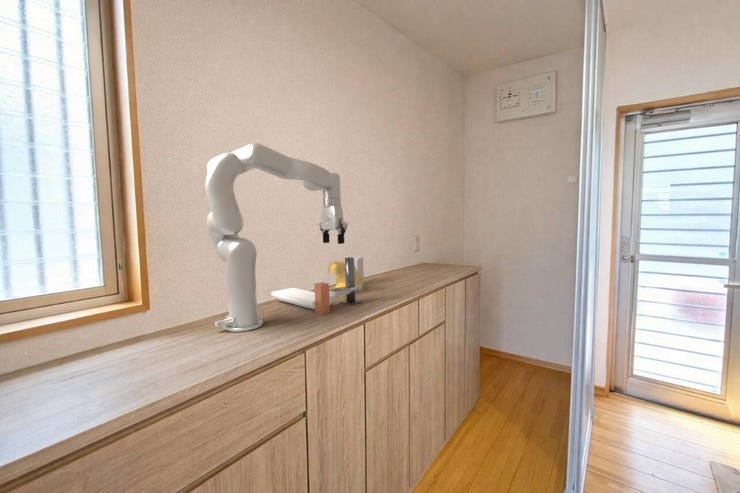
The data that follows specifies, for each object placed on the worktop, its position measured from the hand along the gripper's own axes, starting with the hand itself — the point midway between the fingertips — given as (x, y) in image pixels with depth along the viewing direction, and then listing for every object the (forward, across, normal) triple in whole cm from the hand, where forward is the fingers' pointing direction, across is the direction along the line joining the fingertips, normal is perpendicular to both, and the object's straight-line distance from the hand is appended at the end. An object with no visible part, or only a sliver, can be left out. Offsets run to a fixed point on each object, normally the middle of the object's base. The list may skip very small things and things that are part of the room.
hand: (333, 243), depth 145 cm
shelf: (+27, -11, -10) cm, 31 cm away
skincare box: (+27, -22, +34) cm, 49 cm away
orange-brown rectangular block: (+27, +6, -12) cm, 30 cm away
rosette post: (+27, +3, +2) cm, 27 cm away
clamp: (+27, -14, +18) cm, 36 cm away
